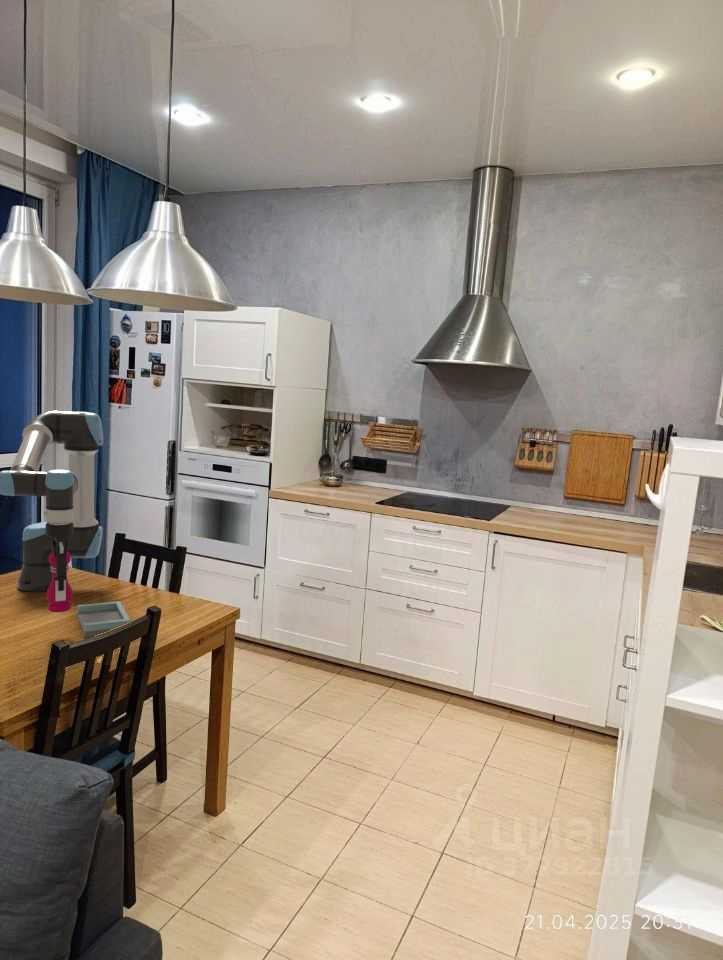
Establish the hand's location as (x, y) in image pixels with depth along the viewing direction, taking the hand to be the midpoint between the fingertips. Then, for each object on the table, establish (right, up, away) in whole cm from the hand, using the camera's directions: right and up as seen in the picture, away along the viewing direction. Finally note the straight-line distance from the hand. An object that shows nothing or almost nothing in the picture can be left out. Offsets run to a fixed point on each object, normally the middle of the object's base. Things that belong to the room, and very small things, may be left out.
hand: (59, 596), depth 199 cm
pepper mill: (0, -4, +1) cm, 4 cm away
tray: (+9, -11, +10) cm, 17 cm away
